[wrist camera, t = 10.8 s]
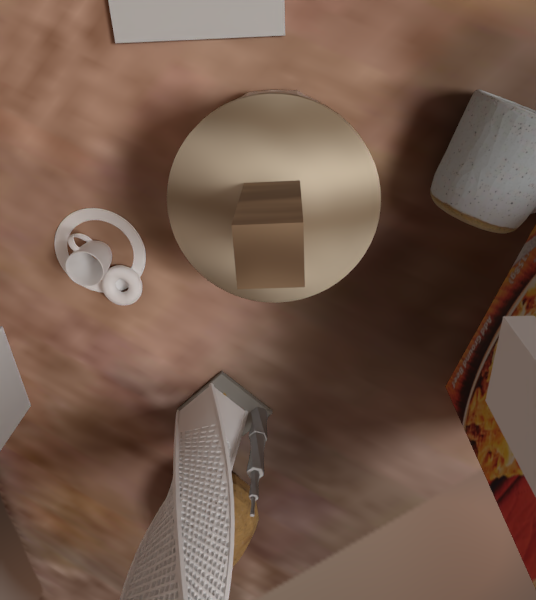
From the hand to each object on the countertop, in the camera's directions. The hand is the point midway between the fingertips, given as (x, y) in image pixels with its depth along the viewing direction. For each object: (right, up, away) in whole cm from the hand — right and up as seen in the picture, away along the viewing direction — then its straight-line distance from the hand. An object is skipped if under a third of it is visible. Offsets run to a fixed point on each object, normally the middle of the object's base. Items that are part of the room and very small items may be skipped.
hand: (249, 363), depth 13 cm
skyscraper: (-5, -10, +38) cm, 40 cm away
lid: (+1, +9, +22) cm, 23 cm away
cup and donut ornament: (-16, +4, +32) cm, 36 cm away
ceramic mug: (+18, +13, +25) cm, 34 cm away
